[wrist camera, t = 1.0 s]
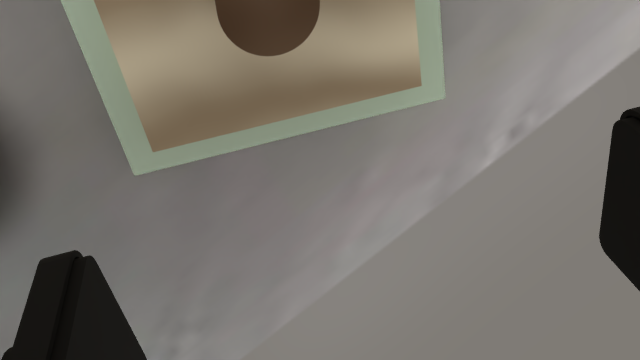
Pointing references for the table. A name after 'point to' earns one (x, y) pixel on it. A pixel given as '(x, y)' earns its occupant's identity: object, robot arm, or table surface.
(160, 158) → the mat
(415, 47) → the cover
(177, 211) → the table surface
